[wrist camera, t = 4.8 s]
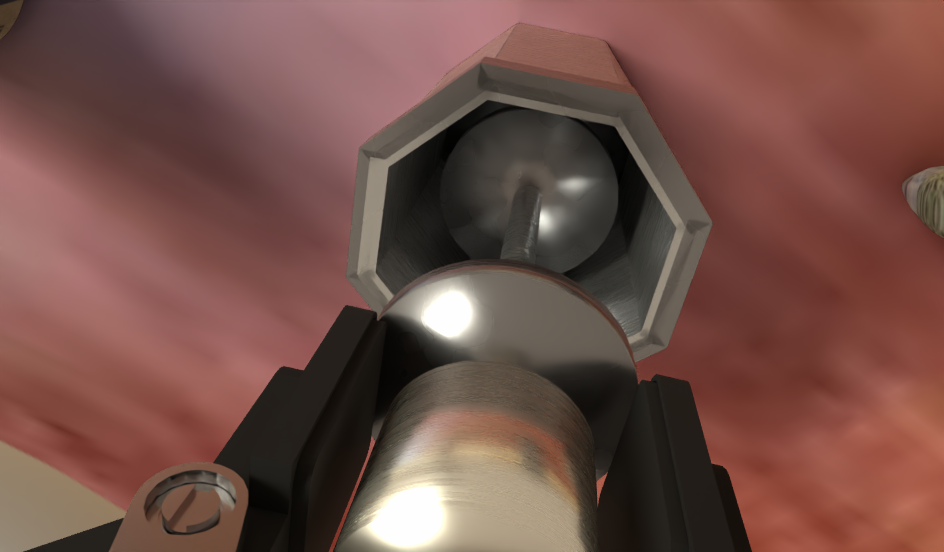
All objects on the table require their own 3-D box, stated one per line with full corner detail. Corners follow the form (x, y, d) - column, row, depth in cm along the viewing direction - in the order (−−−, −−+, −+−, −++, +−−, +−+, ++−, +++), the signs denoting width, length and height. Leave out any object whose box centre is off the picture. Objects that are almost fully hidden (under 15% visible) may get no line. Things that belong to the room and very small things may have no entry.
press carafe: (450, 0, 27) (369, 40, 16) (677, 46, 26) (751, 118, 16) (411, 256, 32) (331, 416, 21) (601, 297, 31) (617, 481, 21)
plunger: (459, 87, 21) (238, 379, 7) (638, 124, 21) (779, 501, 7) (432, 249, 24) (231, 699, 10) (591, 283, 23) (624, 795, 9)
